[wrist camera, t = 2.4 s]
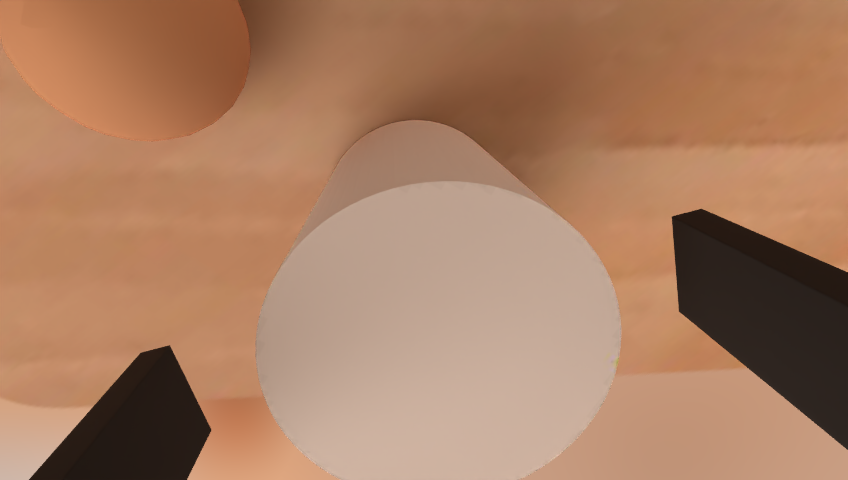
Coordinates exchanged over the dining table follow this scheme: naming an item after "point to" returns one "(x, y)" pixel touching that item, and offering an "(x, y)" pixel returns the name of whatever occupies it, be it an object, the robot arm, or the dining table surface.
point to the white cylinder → (435, 318)
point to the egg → (131, 61)
